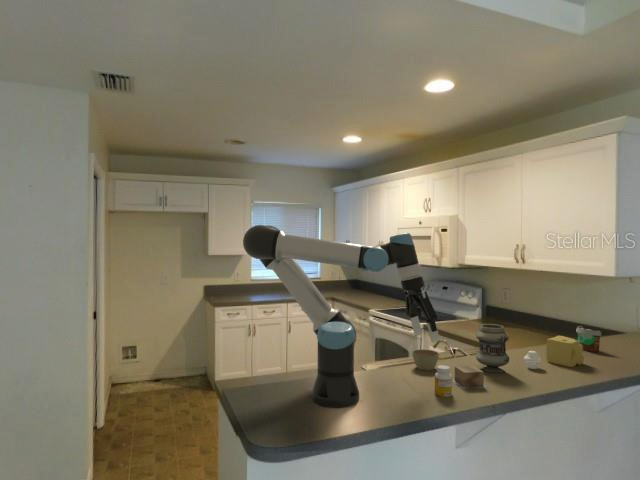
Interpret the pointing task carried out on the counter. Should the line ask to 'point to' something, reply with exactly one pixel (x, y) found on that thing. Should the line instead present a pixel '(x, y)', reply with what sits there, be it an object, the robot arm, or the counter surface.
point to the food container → (588, 339)
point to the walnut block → (469, 376)
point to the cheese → (564, 351)
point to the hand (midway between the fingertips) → (426, 337)
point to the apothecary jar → (492, 347)
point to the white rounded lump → (532, 360)
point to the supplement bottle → (443, 381)
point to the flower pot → (425, 359)
